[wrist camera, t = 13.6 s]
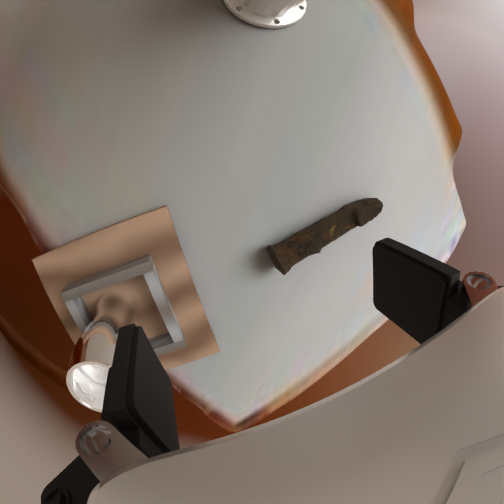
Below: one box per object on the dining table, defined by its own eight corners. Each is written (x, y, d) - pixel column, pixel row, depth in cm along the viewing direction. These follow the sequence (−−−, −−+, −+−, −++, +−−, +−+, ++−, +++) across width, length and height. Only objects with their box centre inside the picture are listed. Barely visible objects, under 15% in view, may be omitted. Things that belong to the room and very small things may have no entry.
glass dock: (35, 257, 30) (22, 267, 26) (167, 205, 33) (167, 209, 30) (103, 381, 37) (100, 399, 33) (218, 347, 41) (224, 363, 37)
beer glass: (91, 328, 33) (66, 405, 20) (95, 282, 32) (62, 351, 18) (138, 339, 36) (134, 420, 22) (146, 295, 34) (140, 369, 21)
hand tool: (273, 269, 40) (286, 281, 36) (262, 244, 39) (275, 254, 35) (373, 213, 43) (392, 219, 39) (367, 191, 41) (387, 194, 37)
